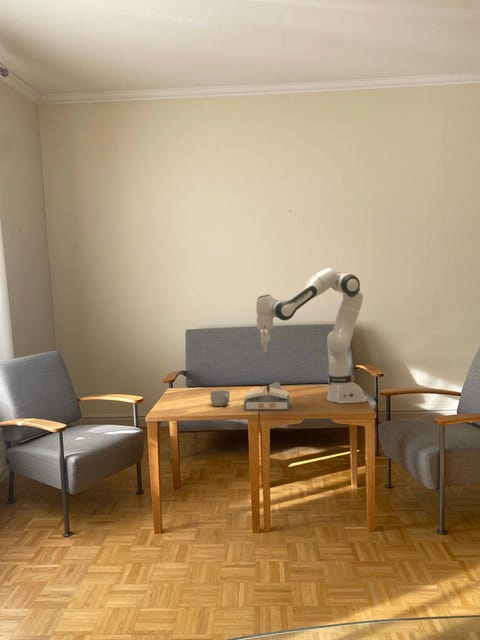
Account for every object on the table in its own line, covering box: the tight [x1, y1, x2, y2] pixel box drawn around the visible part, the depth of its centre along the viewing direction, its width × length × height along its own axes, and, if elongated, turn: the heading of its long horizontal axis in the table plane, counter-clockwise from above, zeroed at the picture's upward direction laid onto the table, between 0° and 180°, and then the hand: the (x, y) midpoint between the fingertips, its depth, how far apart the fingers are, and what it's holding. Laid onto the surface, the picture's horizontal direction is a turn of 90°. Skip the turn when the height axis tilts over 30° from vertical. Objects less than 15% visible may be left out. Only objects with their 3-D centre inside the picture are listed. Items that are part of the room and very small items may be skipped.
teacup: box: [209, 389, 230, 407], centre depth 307 cm, size 14×11×8 cm
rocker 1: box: [245, 387, 266, 399], centre depth 301 cm, size 10×11×2 cm
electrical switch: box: [265, 381, 282, 395], centre depth 320 cm, size 9×5×9 cm, turn 141°
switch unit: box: [243, 394, 291, 412], centre depth 300 cm, size 24×14×7 cm, turn 84°
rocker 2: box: [269, 387, 289, 399], centre depth 299 cm, size 10×11×2 cm
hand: (265, 350), depth 298 cm, fingers open, 8 cm apart
